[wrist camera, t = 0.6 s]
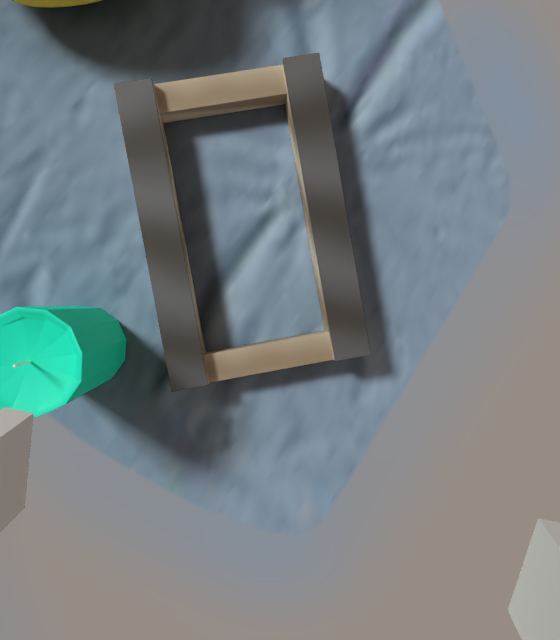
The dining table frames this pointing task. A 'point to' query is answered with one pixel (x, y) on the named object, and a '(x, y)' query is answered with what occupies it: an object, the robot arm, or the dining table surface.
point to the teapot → (54, 2)
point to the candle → (56, 355)
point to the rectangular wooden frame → (317, 199)
